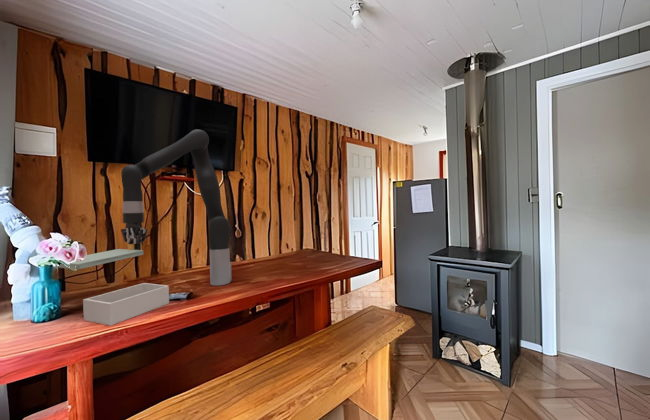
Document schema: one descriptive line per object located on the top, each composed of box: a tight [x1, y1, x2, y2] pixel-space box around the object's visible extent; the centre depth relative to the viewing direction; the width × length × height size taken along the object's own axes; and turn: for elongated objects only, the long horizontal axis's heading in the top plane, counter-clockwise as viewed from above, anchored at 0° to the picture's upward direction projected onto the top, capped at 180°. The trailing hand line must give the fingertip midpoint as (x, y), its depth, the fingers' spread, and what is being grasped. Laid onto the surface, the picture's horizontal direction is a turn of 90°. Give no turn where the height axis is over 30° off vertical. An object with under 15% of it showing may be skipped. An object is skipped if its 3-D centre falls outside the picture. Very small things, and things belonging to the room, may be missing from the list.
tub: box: [82, 282, 170, 326], centre depth 101 cm, size 21×14×7 cm, turn 159°
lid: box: [57, 242, 145, 270], centre depth 108 cm, size 27×16×4 cm, turn 159°
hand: (134, 251), depth 118 cm, fingers closed on lid, 3 cm apart
